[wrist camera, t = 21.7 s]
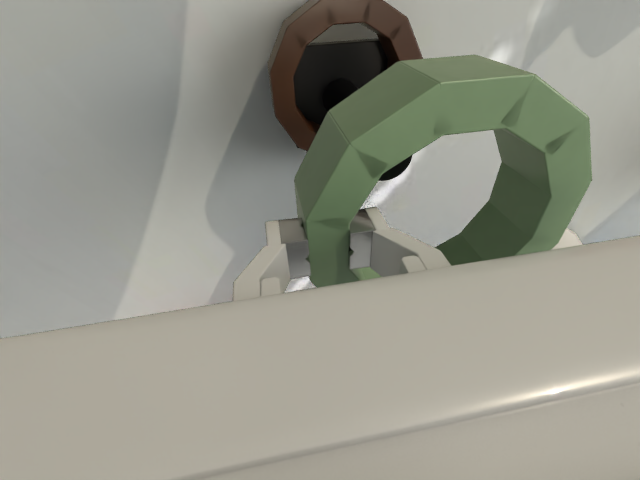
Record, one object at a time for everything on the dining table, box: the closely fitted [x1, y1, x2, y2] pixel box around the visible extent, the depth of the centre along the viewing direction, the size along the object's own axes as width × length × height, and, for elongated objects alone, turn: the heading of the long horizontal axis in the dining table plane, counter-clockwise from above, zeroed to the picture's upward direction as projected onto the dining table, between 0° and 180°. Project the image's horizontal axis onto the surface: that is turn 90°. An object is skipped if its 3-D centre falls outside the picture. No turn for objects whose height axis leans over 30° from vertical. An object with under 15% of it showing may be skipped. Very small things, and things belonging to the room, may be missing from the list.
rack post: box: [293, 39, 412, 181], centre depth 24 cm, size 8×8×13 cm
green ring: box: [294, 55, 592, 288], centre depth 14 cm, size 11×11×3 cm
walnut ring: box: [267, 0, 423, 151], centre depth 26 cm, size 11×11×3 cm
